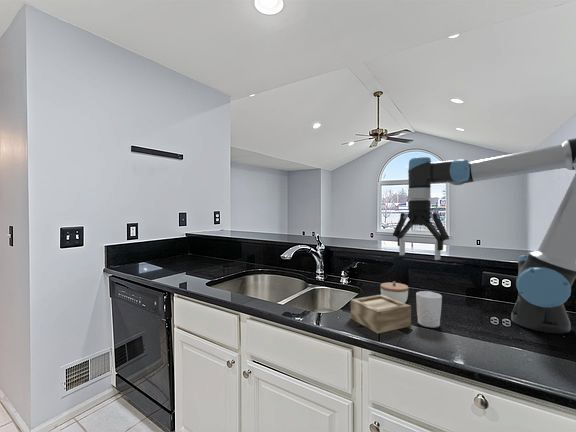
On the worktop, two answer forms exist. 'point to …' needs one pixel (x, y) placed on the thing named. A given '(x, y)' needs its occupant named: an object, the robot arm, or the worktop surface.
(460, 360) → the worktop surface
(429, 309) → the white cup
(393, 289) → the lidded jar
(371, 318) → the wooden box
